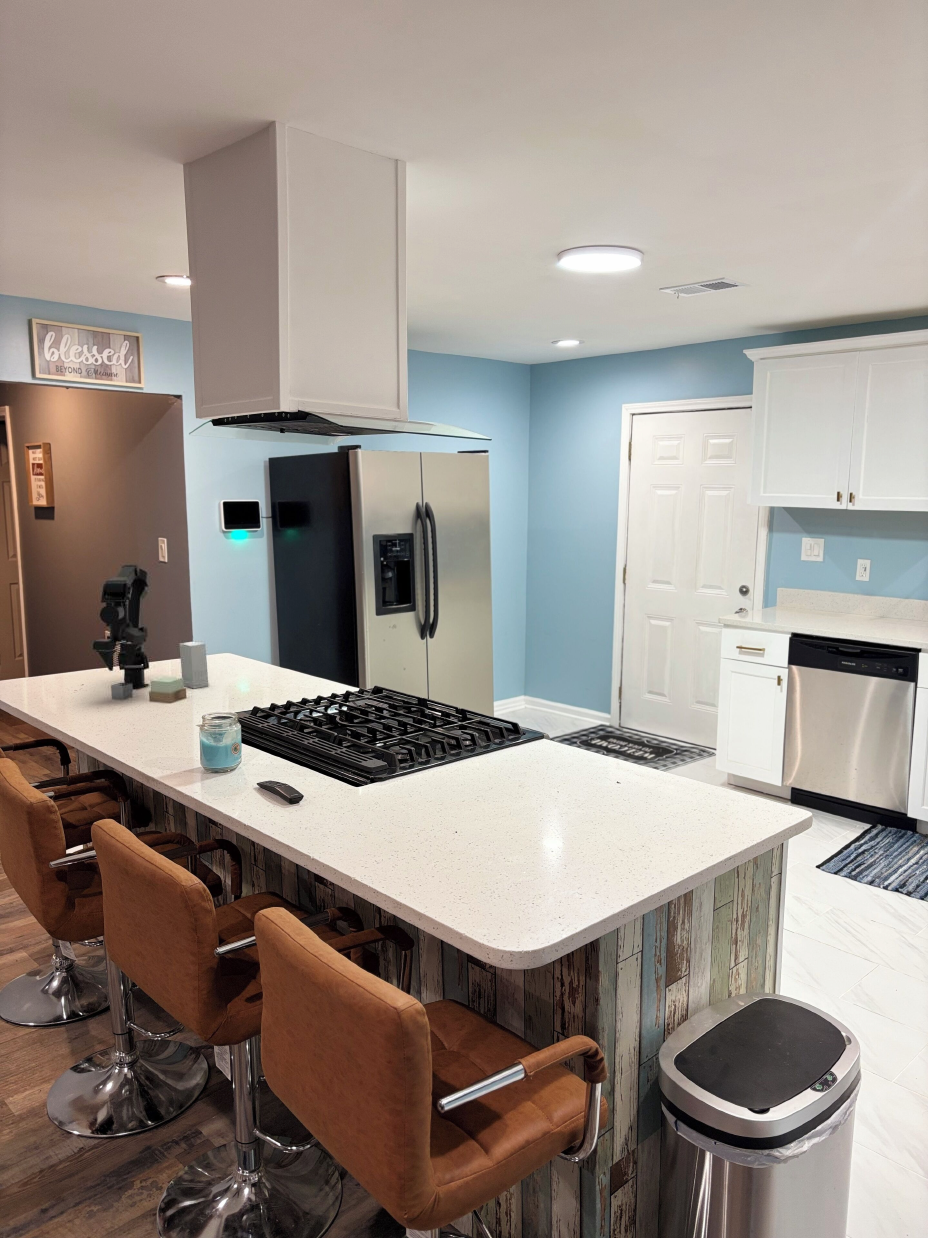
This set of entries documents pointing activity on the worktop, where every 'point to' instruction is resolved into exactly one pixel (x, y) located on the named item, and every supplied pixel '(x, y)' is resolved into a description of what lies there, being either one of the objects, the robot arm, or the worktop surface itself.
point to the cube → (122, 691)
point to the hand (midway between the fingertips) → (121, 668)
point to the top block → (167, 684)
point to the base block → (167, 696)
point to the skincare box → (194, 664)
